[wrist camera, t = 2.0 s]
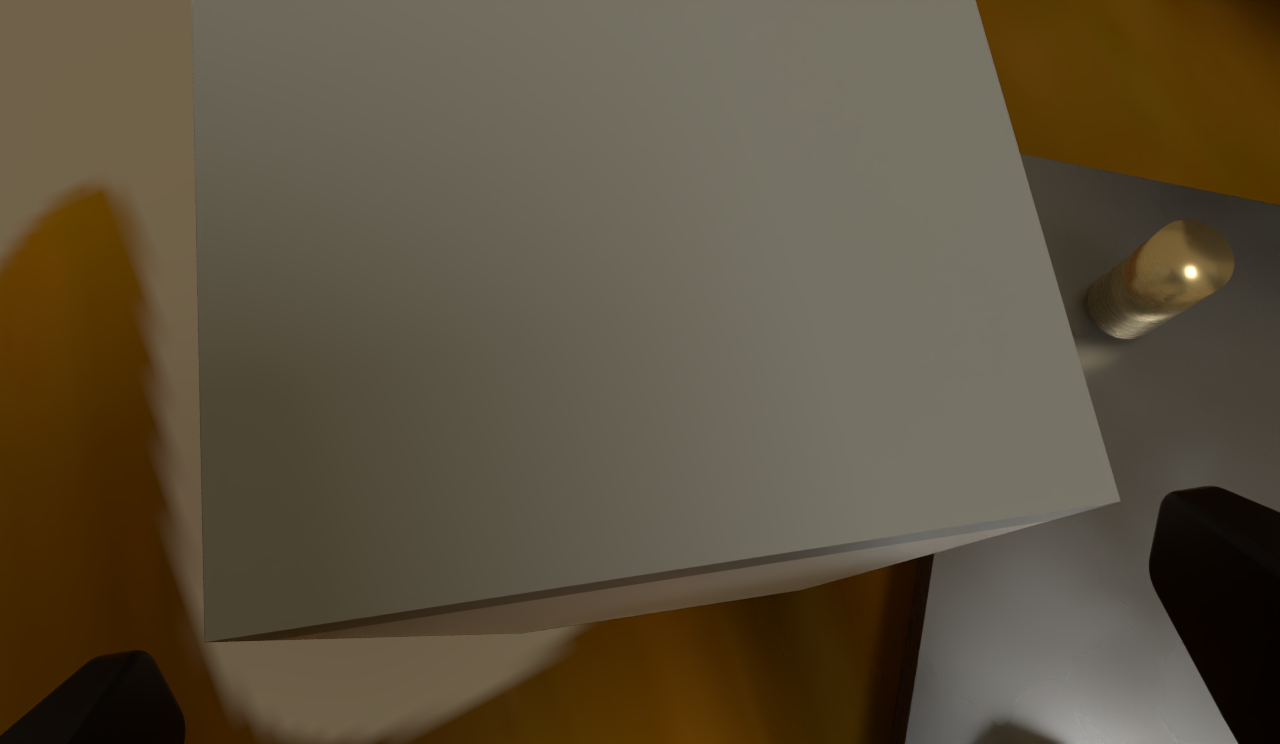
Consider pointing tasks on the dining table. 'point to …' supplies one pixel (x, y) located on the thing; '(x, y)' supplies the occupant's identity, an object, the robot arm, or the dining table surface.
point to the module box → (610, 309)
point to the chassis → (1142, 469)
